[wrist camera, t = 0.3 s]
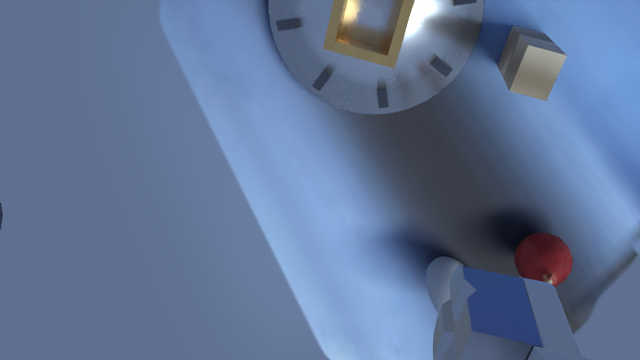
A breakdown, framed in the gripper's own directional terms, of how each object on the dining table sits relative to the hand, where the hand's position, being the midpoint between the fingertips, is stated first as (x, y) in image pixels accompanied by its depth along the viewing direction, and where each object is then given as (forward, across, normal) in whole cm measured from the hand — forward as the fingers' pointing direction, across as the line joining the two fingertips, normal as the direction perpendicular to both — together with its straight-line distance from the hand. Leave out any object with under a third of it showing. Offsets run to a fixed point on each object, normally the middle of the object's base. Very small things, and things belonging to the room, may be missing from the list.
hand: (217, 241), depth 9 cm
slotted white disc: (+48, -1, +5) cm, 48 cm away
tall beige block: (+47, -16, +5) cm, 50 cm away
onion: (+46, -25, +26) cm, 59 cm away
